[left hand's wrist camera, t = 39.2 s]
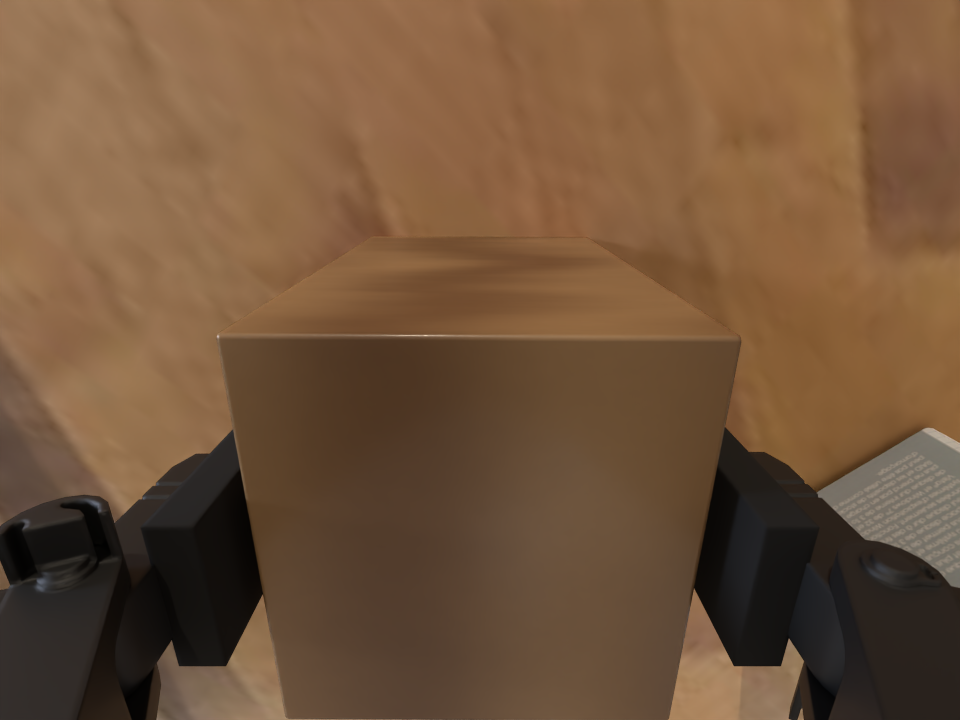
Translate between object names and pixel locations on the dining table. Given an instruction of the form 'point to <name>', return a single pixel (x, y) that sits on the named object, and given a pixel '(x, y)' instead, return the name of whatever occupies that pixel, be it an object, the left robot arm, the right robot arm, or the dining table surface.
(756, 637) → the left robot arm
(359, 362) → the block
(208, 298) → the dining table surface
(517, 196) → the dining table surface
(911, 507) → the hard drive box
